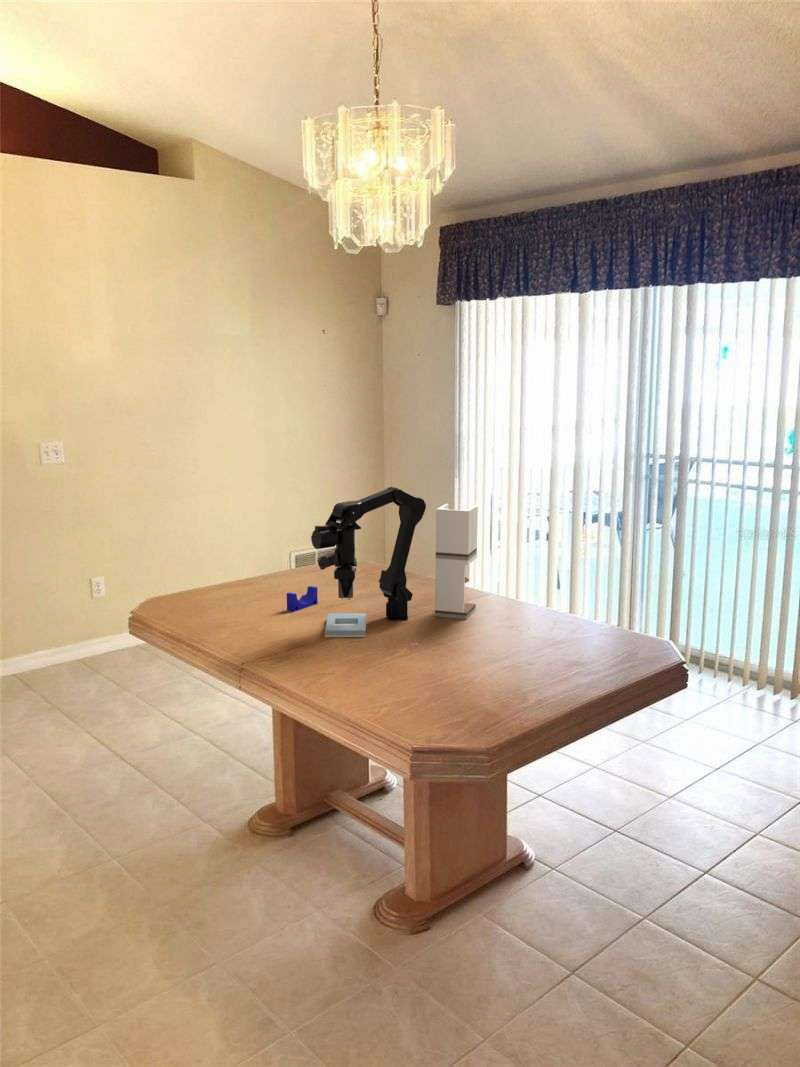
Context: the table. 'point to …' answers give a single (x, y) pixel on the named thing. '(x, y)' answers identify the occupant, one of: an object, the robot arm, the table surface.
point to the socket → (346, 625)
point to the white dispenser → (454, 560)
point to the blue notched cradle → (302, 600)
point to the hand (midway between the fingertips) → (346, 594)
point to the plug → (340, 592)
